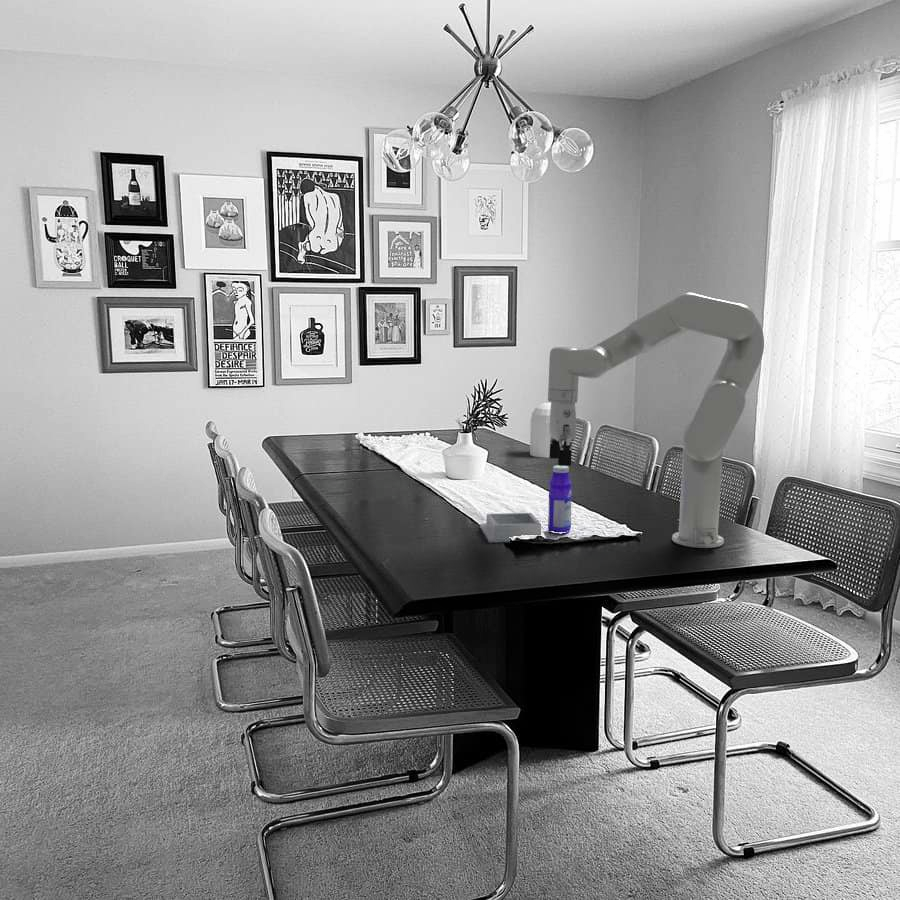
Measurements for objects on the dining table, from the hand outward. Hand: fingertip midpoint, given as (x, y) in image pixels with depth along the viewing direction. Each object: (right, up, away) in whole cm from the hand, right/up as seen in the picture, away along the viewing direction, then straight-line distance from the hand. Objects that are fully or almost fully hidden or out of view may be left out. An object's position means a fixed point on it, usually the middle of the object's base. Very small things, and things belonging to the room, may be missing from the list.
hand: (559, 461), depth 239 cm
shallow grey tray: (-12, -19, +1) cm, 22 cm away
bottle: (0, -19, +3) cm, 19 cm away
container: (+9, +1, +115) cm, 116 cm away
